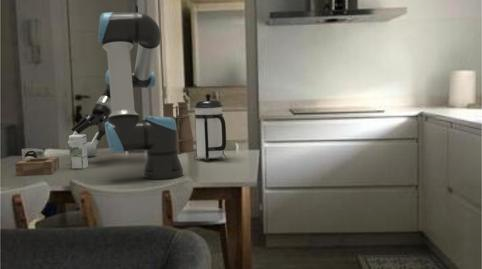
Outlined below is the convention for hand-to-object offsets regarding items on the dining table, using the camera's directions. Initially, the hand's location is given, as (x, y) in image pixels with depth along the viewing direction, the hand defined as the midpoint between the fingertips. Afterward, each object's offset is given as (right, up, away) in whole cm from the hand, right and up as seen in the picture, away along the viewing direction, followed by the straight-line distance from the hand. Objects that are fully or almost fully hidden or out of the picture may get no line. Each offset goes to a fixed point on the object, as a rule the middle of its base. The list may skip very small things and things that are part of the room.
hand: (81, 145), depth 235 cm
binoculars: (+38, -5, +37) cm, 53 cm away
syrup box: (0, -10, -1) cm, 10 cm away
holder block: (-16, -11, -8) cm, 21 cm away
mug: (-27, -9, +18) cm, 34 cm away
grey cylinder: (-7, -7, +31) cm, 32 cm away
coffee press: (+57, -7, +10) cm, 58 cm away
